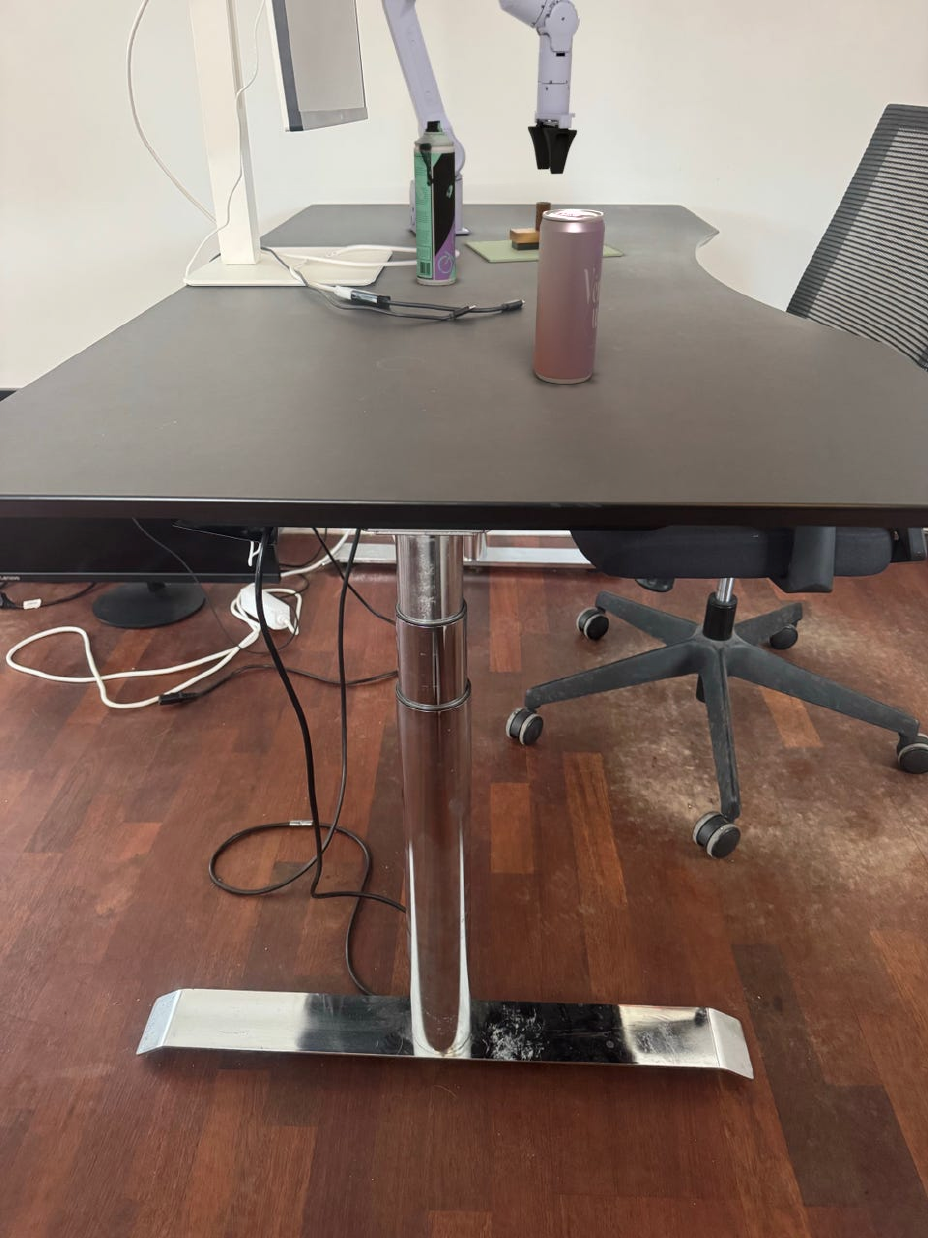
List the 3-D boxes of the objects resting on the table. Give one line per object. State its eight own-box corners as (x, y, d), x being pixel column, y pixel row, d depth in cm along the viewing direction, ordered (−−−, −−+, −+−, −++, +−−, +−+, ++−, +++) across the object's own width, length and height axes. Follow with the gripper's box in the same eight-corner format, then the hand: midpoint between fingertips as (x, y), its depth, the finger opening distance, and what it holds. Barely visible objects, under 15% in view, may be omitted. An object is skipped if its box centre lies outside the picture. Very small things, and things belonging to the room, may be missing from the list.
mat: (490, 262, 136) (490, 259, 135) (465, 244, 149) (465, 241, 149) (622, 255, 140) (622, 253, 140) (586, 238, 153) (587, 236, 153)
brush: (516, 251, 142) (517, 205, 138) (509, 246, 145) (510, 202, 141) (574, 248, 144) (577, 203, 140) (566, 243, 147) (568, 200, 143)
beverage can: (555, 363, 91) (564, 206, 83) (604, 374, 88) (618, 212, 80) (521, 377, 87) (527, 213, 79) (571, 389, 84) (583, 220, 76)
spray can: (455, 285, 122) (454, 121, 111) (416, 285, 122) (411, 121, 111) (456, 277, 127) (455, 118, 116) (418, 277, 127) (414, 118, 116)
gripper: (590, 84, 146) (584, 175, 153) (562, 82, 157) (557, 166, 165) (550, 84, 144) (546, 176, 152) (524, 82, 156) (522, 167, 163)
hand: (549, 171), depth 158 cm, fingers open, 7 cm apart
